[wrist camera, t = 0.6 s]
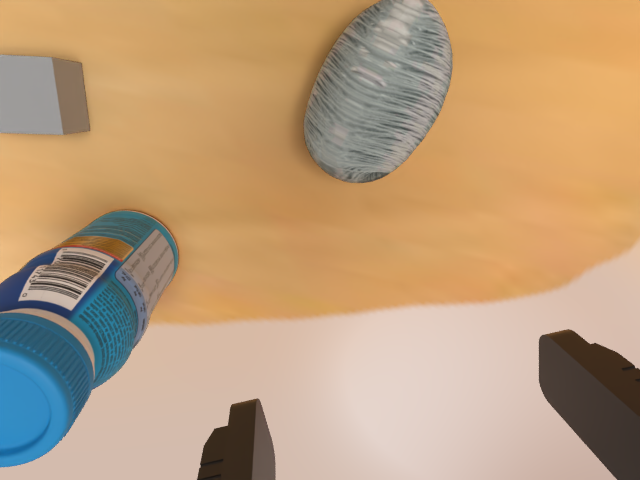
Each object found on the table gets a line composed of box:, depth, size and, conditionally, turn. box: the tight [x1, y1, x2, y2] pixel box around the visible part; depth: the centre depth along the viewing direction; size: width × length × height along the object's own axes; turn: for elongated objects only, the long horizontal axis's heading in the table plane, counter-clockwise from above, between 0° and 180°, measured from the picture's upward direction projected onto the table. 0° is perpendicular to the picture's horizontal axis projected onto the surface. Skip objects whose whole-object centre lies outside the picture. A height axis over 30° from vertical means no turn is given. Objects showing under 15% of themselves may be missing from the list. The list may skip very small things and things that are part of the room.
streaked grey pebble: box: [304, 0, 452, 183], centre depth 31 cm, size 14×10×10 cm
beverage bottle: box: [0, 210, 179, 467], centre depth 27 cm, size 8×8×20 cm
